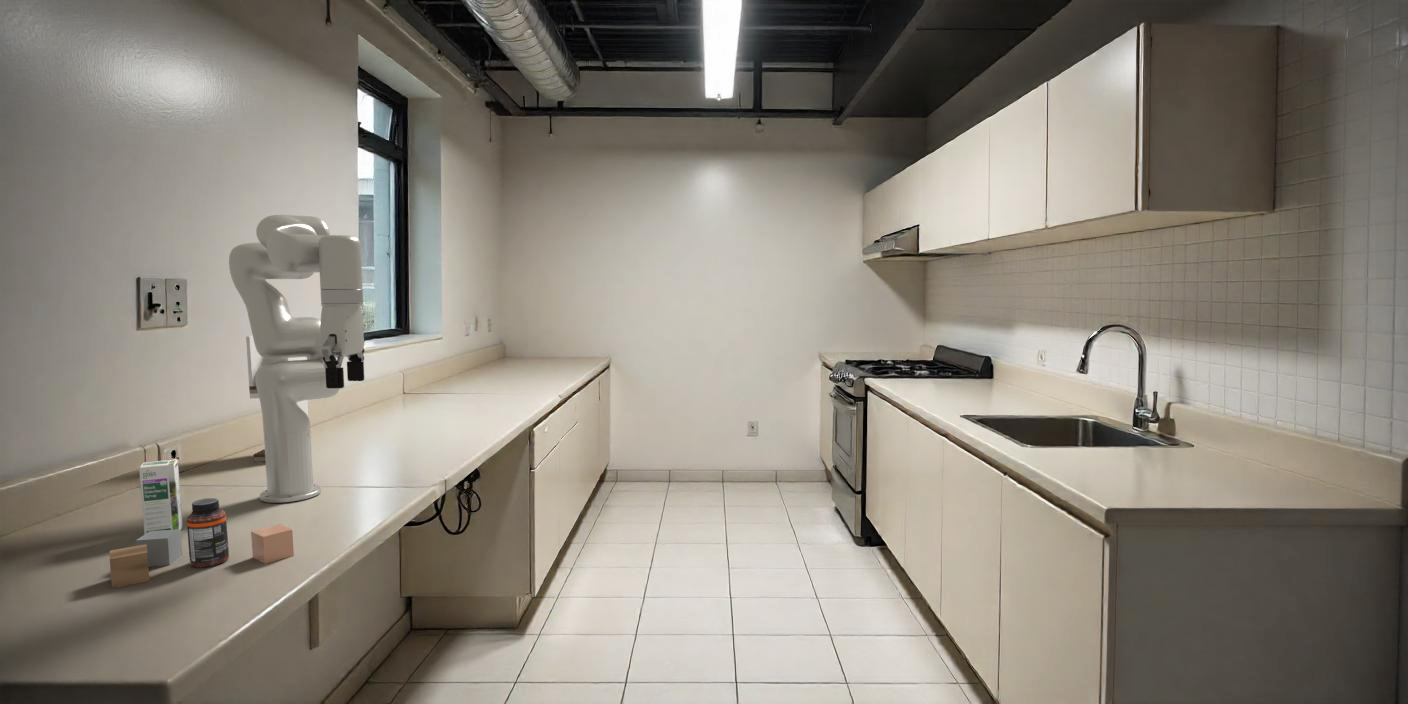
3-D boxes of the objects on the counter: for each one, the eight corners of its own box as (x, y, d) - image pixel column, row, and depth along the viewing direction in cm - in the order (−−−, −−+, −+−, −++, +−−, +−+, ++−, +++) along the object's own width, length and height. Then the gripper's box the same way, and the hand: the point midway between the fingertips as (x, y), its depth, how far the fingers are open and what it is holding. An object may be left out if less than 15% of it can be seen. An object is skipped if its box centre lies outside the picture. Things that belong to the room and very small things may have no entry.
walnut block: (112, 579, 129) (110, 550, 129) (148, 572, 132) (146, 544, 132) (112, 588, 125) (109, 559, 125) (149, 581, 128) (147, 552, 128)
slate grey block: (151, 557, 139) (149, 531, 139) (182, 555, 140) (180, 529, 140) (137, 567, 134) (135, 540, 134) (169, 565, 135) (167, 538, 135)
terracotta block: (252, 558, 139) (251, 531, 138) (281, 550, 143) (279, 524, 142) (264, 564, 136) (263, 536, 135) (293, 556, 140) (292, 529, 139)
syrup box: (143, 540, 148) (138, 467, 147) (149, 531, 153) (144, 460, 152) (179, 535, 151) (173, 463, 149) (183, 526, 156) (178, 457, 155)
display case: (272, 452, 223) (265, 333, 220) (310, 451, 225) (303, 333, 221) (253, 461, 212) (246, 336, 209) (293, 460, 213) (286, 336, 210)
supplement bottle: (201, 556, 139) (197, 496, 138) (236, 555, 140) (232, 495, 138) (182, 569, 133) (177, 506, 132) (218, 568, 134) (213, 505, 133)
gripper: (341, 297, 158) (345, 378, 160) (301, 300, 141) (306, 391, 143) (378, 297, 159) (381, 378, 161) (342, 300, 142) (346, 391, 143)
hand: (346, 384), depth 152 cm, fingers open, 9 cm apart
